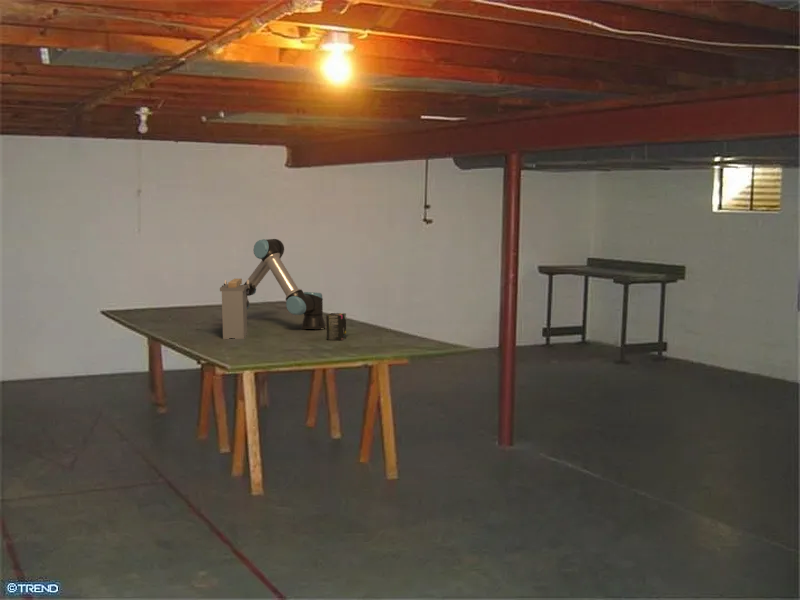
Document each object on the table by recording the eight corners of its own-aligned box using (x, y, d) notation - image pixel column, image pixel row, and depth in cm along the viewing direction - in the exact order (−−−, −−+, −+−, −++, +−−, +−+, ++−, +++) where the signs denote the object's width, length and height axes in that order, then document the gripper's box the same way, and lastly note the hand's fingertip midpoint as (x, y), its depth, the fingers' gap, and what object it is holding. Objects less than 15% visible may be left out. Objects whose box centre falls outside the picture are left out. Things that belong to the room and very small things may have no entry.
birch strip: (234, 283, 547) (234, 278, 547) (241, 283, 547) (241, 278, 547) (228, 287, 519) (228, 282, 519) (236, 287, 519) (236, 282, 519)
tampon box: (341, 340, 512) (341, 315, 511) (326, 340, 514) (325, 314, 513) (346, 337, 523) (346, 312, 522) (331, 337, 525) (331, 312, 523)
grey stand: (225, 334, 539) (224, 285, 536) (248, 334, 540) (247, 284, 536) (221, 339, 521) (219, 287, 518) (245, 338, 522) (244, 287, 519)
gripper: (260, 301, 563) (257, 287, 543) (220, 302, 562) (215, 287, 542) (261, 290, 566) (257, 276, 547) (221, 291, 565) (216, 276, 545)
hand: (236, 281), depth 544 cm, fingers open, 13 cm apart
